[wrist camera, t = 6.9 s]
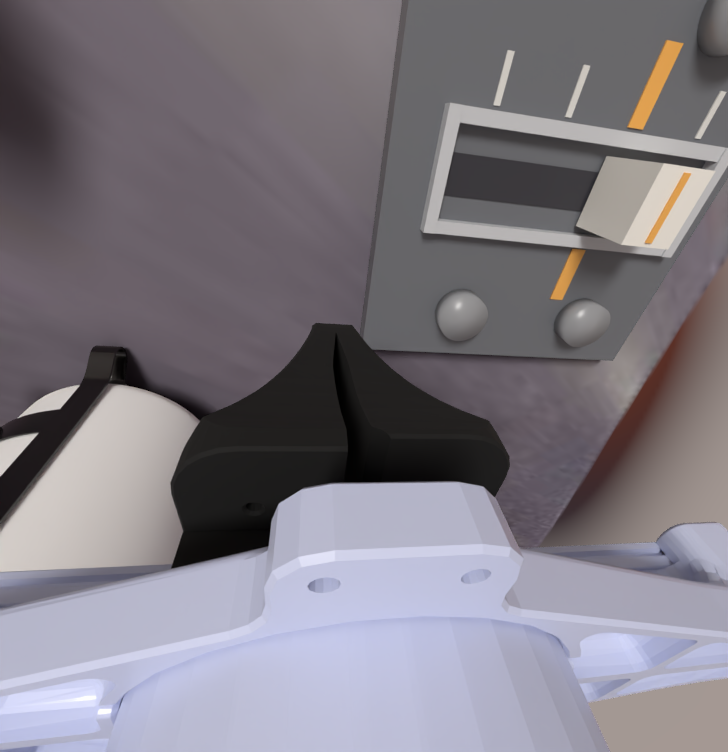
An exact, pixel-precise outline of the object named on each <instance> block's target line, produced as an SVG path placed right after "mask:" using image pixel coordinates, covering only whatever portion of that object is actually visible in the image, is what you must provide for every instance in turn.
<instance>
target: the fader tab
mask: <svg viewBox="0 0 728 752" xmlns="http://www.w3.org/2000/svg"><path fill="white" fill-rule="evenodd" d="M714 173H715V171H712V170H705V169H699V168H692V167H685V166H679V165H672V164H665V163H658V162H650V161H642V160H634V159H627V158H619V157H611V156H606V158H605V161H604V163H603V165H602V168H601V170H600V172H599V174H598V177H597V179H596V181H595V183H594V186H593V188H592V190H591V193H590V195H589V197H588V199H587V202H586V204H585V206H584V208H583V211H582V213H581V215H580V217H579V220H578V222H577V224H576V226H577V227H580V228H582V229H584V230H587V231H589V232H592V233H594V234H596V235H599V236H601V237H604V238H606V239H609V240H611V241H613V242H616V243H618V244H621V245H628V246H638V247H647V248H657V249H667V250H668V249H669V247H670V246H671V244H672V242H673V241H674V239H675V237H676V236H677V234H678V232H679V231H680V229H681V227H682V226H683V224H684V223H685V221H686V219H687V218H688V216H689V214H690V213H691V211H692V209H693V208H694V206H695V204H696V203H697V201H698V199H699V198H700V196H701V194H702V193H703V191H704V189H705V188H706V186H707V185H708V183H709V181H710V180H711V178H712V176H713V175H714Z"/></svg>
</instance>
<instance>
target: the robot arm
mask: <svg viewBox="0 0 728 752" xmlns="http://www.w3.org/2000/svg"><path fill="white" fill-rule="evenodd" d="M509 467H510V463H509V455H508V453H507V451H506V449H505V447H504V446H503V444H502V442H501V440H500V438H499V436H498V435H497V433H496V431H495V430H494V428H493V427H492V425H491V424H490V422H489V421H488V420H485V419H483V418H480V417H477V416H475V415H472V414H469V413H467V412H464V411H461V410H459V409H457V408H454V407H452V406H450V405H448V404H446V403H444V402H442V401H440V400H438V399H436V398H434V397H432V396H430V395H429V394H427V393H425V392H424V391H422V390H420V389H419V388H417V387H415V386H414V385H412V384H411V383H409V382H408V381H407V380H405V379H404V378H403V377H401V376H400V375H399V374H397V373H396V372H395V371H394V370H393V369H391V368H390V367H389V366H388V365H387V364H386V363H385V362H384V361H383V360H382V359H381V358H380V357H379V356H378V355H377V354H376V353H375V352H374V351H373V350H372V349H371V348H370V347H369V346H368V344H367V343H366V342H365V341H364V339H363V338H362V337H361V336H360V334H359V333H358V332H357V331H356V329H355V328H354V327H353V326H352V325H340V324H323V323H315V324H314V325H313V326H312V330H311V332H310V334H309V336H308V338H307V339H306V341H305V343H304V344H303V346H302V347H301V349H300V350H299V351H298V353H297V354H296V355H295V356H294V358H293V359H292V360H291V361H290V362H289V364H288V365H287V366H286V367H285V368H284V369H283V370H282V371H281V372H280V373H279V374H278V375H276V376H275V377H274V378H273V379H272V380H271V381H269V382H268V383H267V384H266V385H264V386H263V387H262V388H260V389H259V390H257V391H256V392H254V393H252V394H251V395H249V396H247V397H245V398H244V399H242V400H240V401H238V402H236V403H234V404H232V405H230V406H228V407H225V408H223V409H221V410H218V411H216V412H214V413H212V414H209V415H207V416H204V417H203V418H202V419H201V420H200V422H199V423H198V425H197V427H196V428H195V430H194V431H193V433H192V435H191V436H190V438H189V440H188V441H187V443H186V445H185V447H184V449H183V451H182V453H181V456H180V459H179V461H178V464H177V467H176V469H175V472H174V475H173V477H172V480H171V482H170V484H171V495H172V498H173V501H174V504H175V507H176V510H177V513H178V517H179V520H180V523H181V526H182V529H183V533H182V536H181V539H180V542H179V545H178V548H177V552H176V555H175V558H174V561H173V564H164V565H142V566H120V567H98V568H77V569H55V570H33V571H11V572H0V752H610V750H609V748H608V746H607V744H606V741H605V739H604V737H603V735H602V733H601V730H600V728H599V726H598V724H597V722H596V719H595V718H594V715H593V713H592V711H591V709H590V706H589V704H588V703H589V702H594V701H599V700H605V699H609V698H614V697H620V696H624V695H630V694H635V693H640V692H645V691H650V690H656V689H661V688H667V687H672V686H678V685H684V684H691V683H697V682H703V681H710V680H717V679H725V678H728V530H727V529H725V527H724V526H723V525H722V524H721V523H716V522H705V523H683V524H678V525H675V526H673V527H670V528H669V529H667V530H666V531H665V532H663V533H662V534H661V535H660V537H659V538H658V539H657V541H656V542H647V543H624V544H603V545H580V546H559V547H536V548H520V547H518V545H517V543H516V541H515V539H514V536H513V534H512V532H511V530H510V528H509V526H508V524H507V522H506V519H505V517H504V515H503V513H502V511H501V509H500V507H499V504H498V502H497V500H496V499H495V496H496V494H497V492H498V490H499V488H500V487H501V485H502V483H503V481H504V479H505V477H506V475H507V472H508V470H509Z"/></svg>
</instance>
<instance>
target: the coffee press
mask: <svg viewBox="0 0 728 752" xmlns="http://www.w3.org/2000/svg"><path fill="white" fill-rule="evenodd" d="M126 367H127V353H126V351H125V349H124V348H123V347H115V346H95V347H93V348H92V350H91V352H90V356H89V361H88V365H87V369H86V373H85V376H84V379H83V381H82V383H81V384H80V385H76V386H71V387H67V388H63V389H60V390H57V391H54V392H52V393H50V394H48V395H46V396H44V397H42V398H41V399H39V400H38V401H36V402H35V403H34V404H32V405H31V406H30V407H29V408H28V409H27V410H26V411H25V412H24V413H22V414H21V415H20V416H19V417H18V418H17V419H14V420H12V421H10V422H8V423H7V424H5V425H3V426H2V427H0V572H11V571H33V570H55V569H77V568H98V567H120V566H142V565H164V564H173V561H174V558H175V555H176V552H177V548H178V545H179V542H180V539H181V536H182V533H183V529H182V526H181V523H180V520H179V517H178V513H177V510H176V507H175V504H174V501H173V498H172V495H171V484H170V482H171V480H172V477H173V475H174V472H175V469H176V467H177V464H178V461H179V459H180V456H181V453H182V451H183V449H184V447H185V445H186V443H187V441H188V440H189V438H190V436H191V435H192V433H193V431H194V430H195V428H196V427H197V425H198V423H199V422H200V421H199V420H198V419H197V418H196V417H195V416H194V415H193V414H192V413H190V412H189V411H188V410H186V409H185V408H183V407H182V406H180V405H179V404H177V403H175V402H173V401H172V400H170V399H168V398H165V397H163V396H161V395H158V394H156V393H153V392H150V391H147V390H144V389H140V388H136V387H131V386H126V382H125V377H126Z"/></svg>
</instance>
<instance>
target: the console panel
mask: <svg viewBox="0 0 728 752" xmlns="http://www.w3.org/2000/svg"><path fill="white" fill-rule="evenodd" d="M606 156H611V157H619V158H627V159H634V160H642V161H650V162H658V163H665V164H672V165H679V166H685V167H692V168H699V169H705V170H712V171H715V173H714V175H713V176H712V178H711V180H710V181H709V183H708V185H707V186H706V188H705V189H704V191H703V193H702V194H701V196H700V198H699V199H698V201H697V203H696V204H695V206H694V208H693V209H692V211H691V213H690V214H689V216H688V218H687V219H686V221H685V223H684V224H683V226H682V227H681V229H680V231H679V232H678V234H677V236H676V237H675V239H674V241H673V242H672V244H671V246H670V247H669V249H668V250H667V249H657V248H647V247H638V246H628V245H621V244H618V243H616V242H613V241H611V240H609V239H606V238H604V237H601V236H599V235H596V234H594V233H592V232H589V231H587V230H584V229H582V228H580V227H577V226H576V224H577V222H578V220H579V217H580V215H581V213H582V211H583V208H584V206H585V204H586V202H587V199H588V197H589V195H590V193H591V190H592V188H593V186H594V183H595V181H596V179H597V177H598V174H599V172H600V170H601V168H602V165H603V163H604V161H605V158H606ZM727 178H728V0H402V8H401V15H400V23H399V31H398V39H397V47H396V55H395V63H394V70H393V78H392V86H391V94H390V102H389V110H388V118H387V125H386V133H385V141H384V149H383V157H382V165H381V173H380V180H379V188H378V196H377V204H376V212H375V220H374V228H373V235H372V243H371V251H370V259H369V267H368V275H367V283H366V291H365V298H364V306H363V314H362V322H361V330H360V336H361V337H362V338H363V339H364V341H365V342H366V343H367V344H368V346H369V347H370V348H371V349H372V350H394V351H415V352H437V353H459V354H480V355H502V356H524V357H545V358H567V359H588V360H610V361H613V359H614V358H615V356H616V355H617V353H618V352H619V350H620V348H621V347H622V345H623V344H624V342H625V340H626V339H627V337H628V336H629V334H630V332H631V331H632V329H633V328H634V326H635V325H636V323H637V321H638V320H639V318H640V317H641V315H642V313H643V312H644V310H645V309H646V307H647V305H648V304H649V302H650V301H651V299H652V297H653V296H654V294H655V293H656V291H657V290H658V288H659V286H660V285H661V283H662V282H663V280H664V278H665V277H666V275H667V274H668V272H669V270H670V269H671V267H672V266H673V264H674V263H675V261H676V259H677V258H678V256H679V255H680V253H681V251H682V250H683V248H684V247H685V245H686V243H687V242H688V240H689V239H690V237H691V235H692V234H693V232H694V231H695V229H696V228H697V226H698V224H699V223H700V221H701V220H702V218H703V216H704V215H705V213H706V212H707V210H708V208H709V207H710V205H711V204H712V202H713V200H714V199H715V197H716V196H717V194H718V193H719V191H720V189H721V188H722V186H723V185H724V183H725V181H726V180H727Z"/></svg>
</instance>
